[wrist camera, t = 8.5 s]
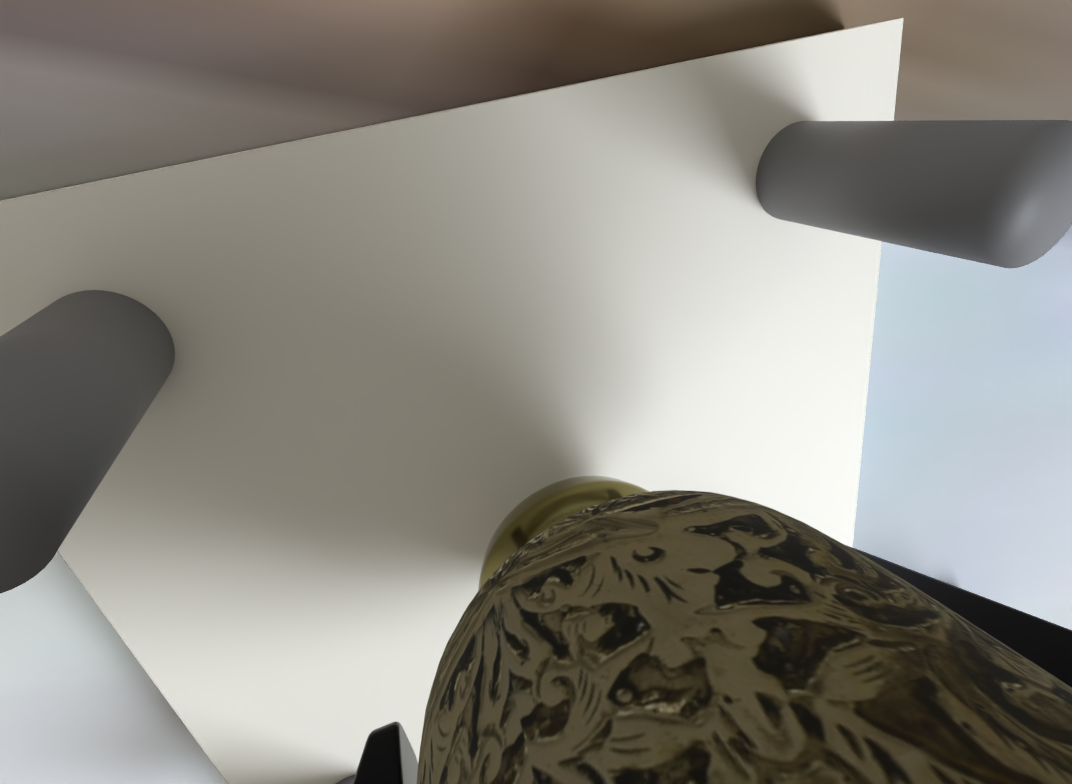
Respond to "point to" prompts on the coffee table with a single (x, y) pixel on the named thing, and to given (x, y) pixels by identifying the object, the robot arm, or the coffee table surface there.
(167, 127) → the coffee table surface
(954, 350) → the coffee table surface
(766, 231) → the peg stand
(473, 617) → the dark brown ornate lampshade
